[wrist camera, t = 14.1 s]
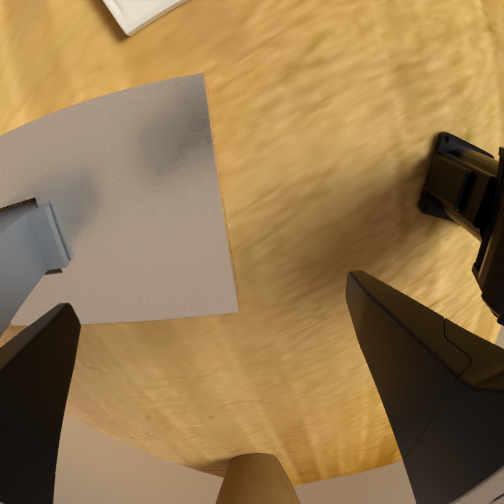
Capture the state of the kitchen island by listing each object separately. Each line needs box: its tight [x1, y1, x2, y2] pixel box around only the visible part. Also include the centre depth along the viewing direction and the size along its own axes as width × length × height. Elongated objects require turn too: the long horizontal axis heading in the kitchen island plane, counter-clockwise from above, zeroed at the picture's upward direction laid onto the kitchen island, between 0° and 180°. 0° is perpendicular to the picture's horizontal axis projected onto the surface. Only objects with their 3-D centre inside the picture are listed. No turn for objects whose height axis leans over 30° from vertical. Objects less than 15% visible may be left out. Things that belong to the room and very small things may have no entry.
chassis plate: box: [0, 73, 239, 326], centre depth 19 cm, size 22×16×2 cm
